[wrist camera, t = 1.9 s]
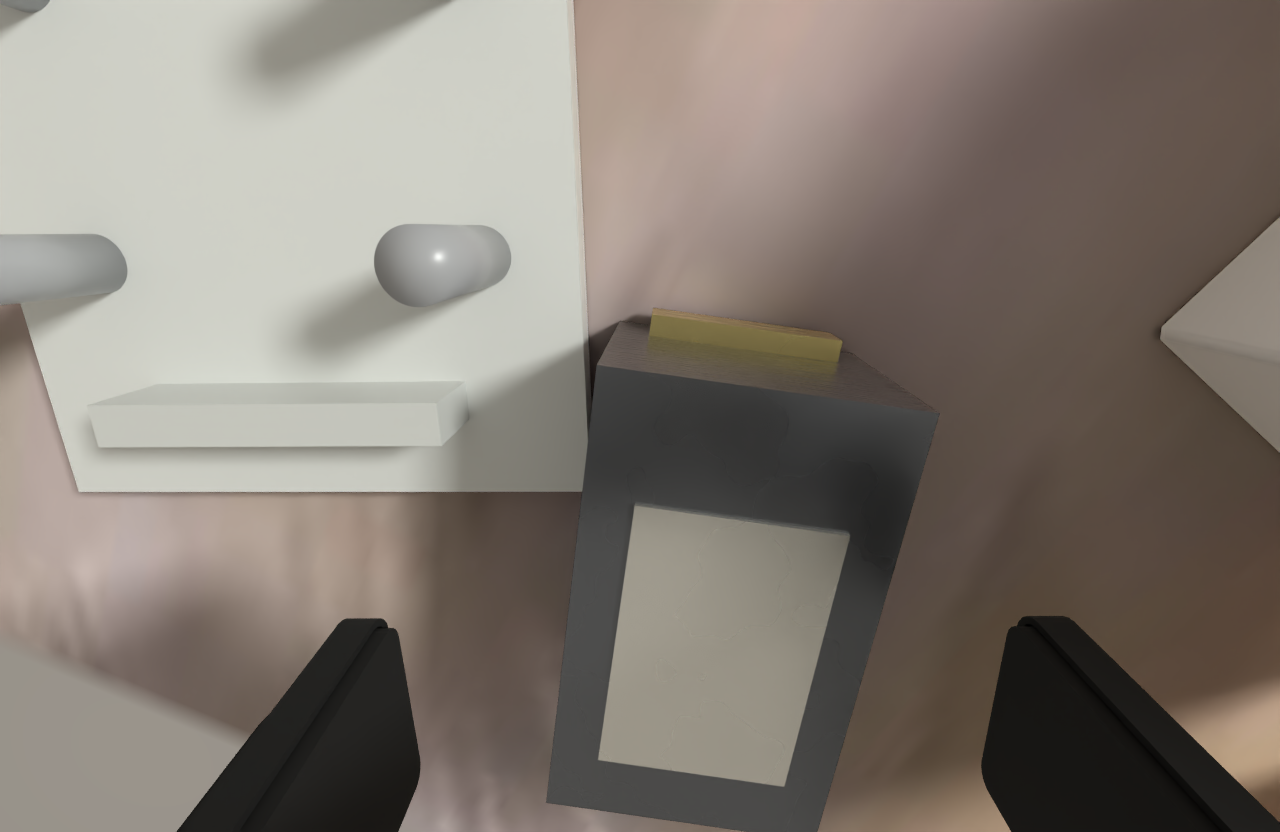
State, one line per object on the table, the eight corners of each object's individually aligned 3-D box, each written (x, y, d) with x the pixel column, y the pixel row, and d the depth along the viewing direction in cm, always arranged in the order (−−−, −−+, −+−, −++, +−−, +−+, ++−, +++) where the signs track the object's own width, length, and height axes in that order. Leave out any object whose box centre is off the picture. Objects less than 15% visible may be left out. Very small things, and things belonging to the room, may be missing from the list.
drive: (774, 670, 19) (815, 845, 13) (580, 642, 19) (545, 807, 14) (854, 332, 16) (950, 387, 10) (622, 300, 16) (599, 337, 10)
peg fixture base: (594, 476, 17) (566, 574, 12) (111, 477, 18) (-96, 570, 13) (555, -396, 12) (477, -822, 7) (-130, -346, 12) (-628, -704, 8)
